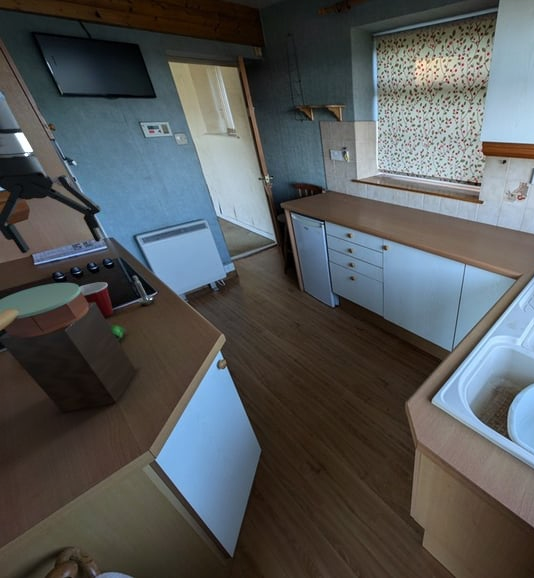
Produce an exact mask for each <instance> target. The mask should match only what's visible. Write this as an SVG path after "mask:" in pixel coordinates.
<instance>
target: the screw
mask: <svg viewBox="0 0 534 578" xmlns="http://www.w3.org/2000/svg"><path fill="white" fill-rule="evenodd" d="M132 279H133V281H134V285H135V287H136V289H137V291H138V293H139V295H140V298H139V299H138V301H137V302H138V303H139V304H143V306H149V305H151V304H152V300H153V299H154V296H152V295H147V292H146V291H145V288H144V287H143V285H142V282H141V280H139V277H138V276H137V275H133V276H132Z"/></svg>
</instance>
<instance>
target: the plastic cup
mask: <svg viewBox="0 0 534 578" xmlns="http://www.w3.org/2000/svg"><path fill="white" fill-rule="evenodd" d="M108 284H109V283H107V282H103V281H101V282H93V283H88V284H84V285H81V286H79V287H80V289H81V292H82V294H83V296H84V297H85V299H86V300H87V302H88V303H92V302H95V303H96V305H97V306H98V308H99V310H100V311H101V313H102V315H103V316H104V318H105V319H106V318H108V317H110V316H112V314H113V313H114V310H113V306H112V302H111V298H110V295H109V290H108Z"/></svg>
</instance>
